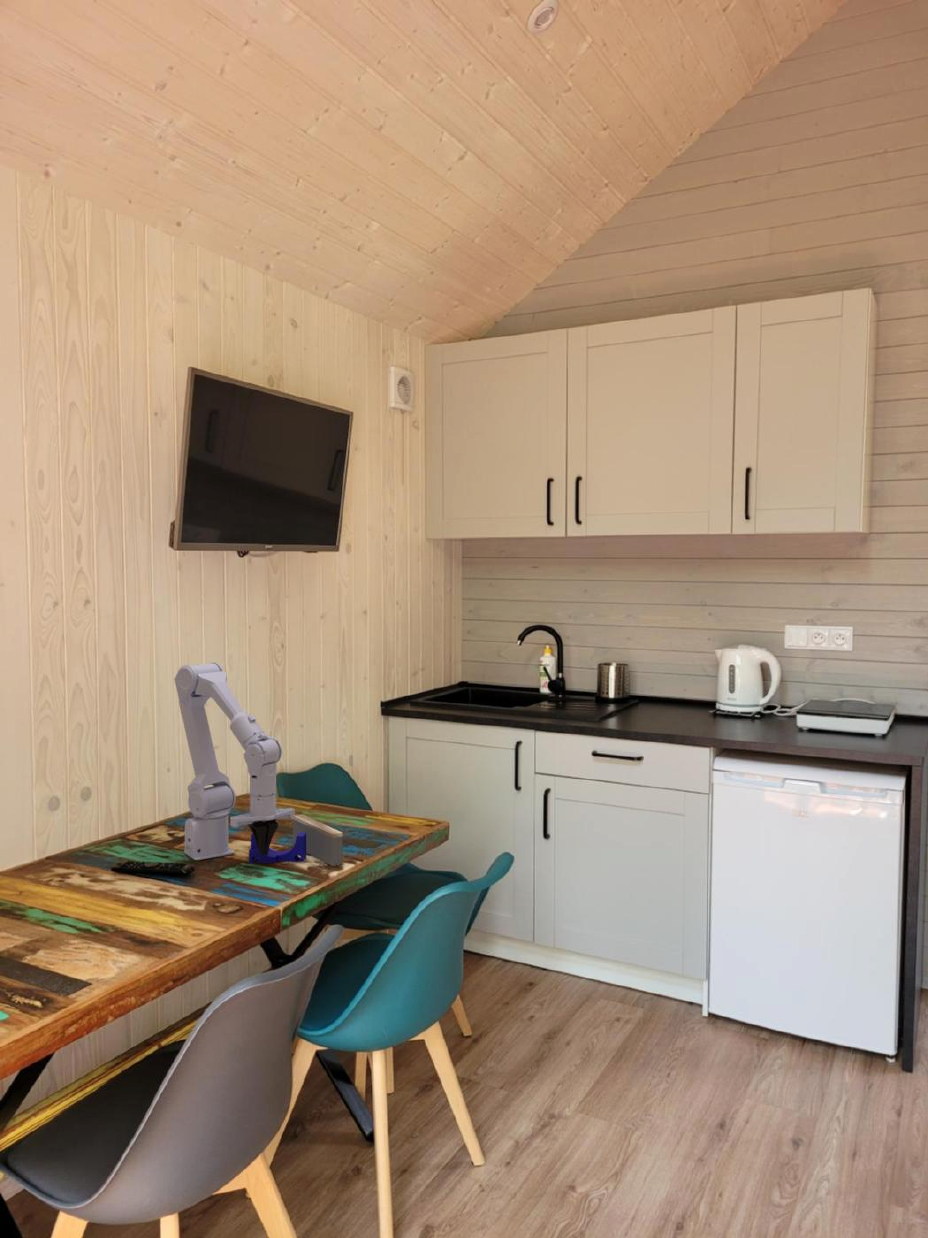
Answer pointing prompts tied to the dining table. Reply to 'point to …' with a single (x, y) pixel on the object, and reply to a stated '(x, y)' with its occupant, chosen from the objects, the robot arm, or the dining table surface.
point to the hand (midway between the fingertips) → (263, 854)
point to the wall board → (319, 839)
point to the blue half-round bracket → (280, 856)
